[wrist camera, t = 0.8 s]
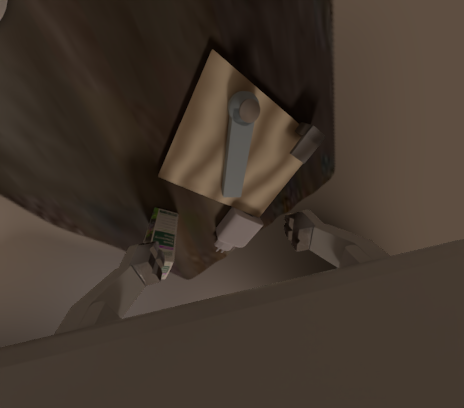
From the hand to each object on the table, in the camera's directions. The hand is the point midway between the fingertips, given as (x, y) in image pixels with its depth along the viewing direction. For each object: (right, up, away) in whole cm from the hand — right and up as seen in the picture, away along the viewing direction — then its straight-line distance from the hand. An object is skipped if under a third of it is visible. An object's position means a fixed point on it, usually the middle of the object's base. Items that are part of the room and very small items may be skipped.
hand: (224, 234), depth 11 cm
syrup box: (-16, -2, +31) cm, 35 cm away
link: (+1, +13, +23) cm, 26 cm away
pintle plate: (+2, +13, +26) cm, 29 cm away
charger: (0, -5, +38) cm, 38 cm away
